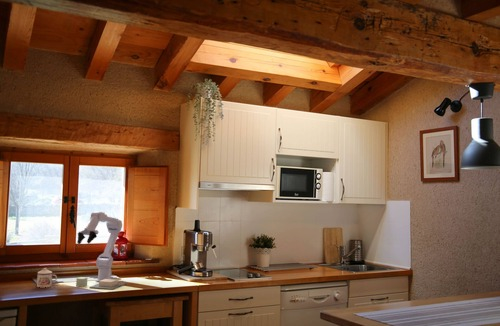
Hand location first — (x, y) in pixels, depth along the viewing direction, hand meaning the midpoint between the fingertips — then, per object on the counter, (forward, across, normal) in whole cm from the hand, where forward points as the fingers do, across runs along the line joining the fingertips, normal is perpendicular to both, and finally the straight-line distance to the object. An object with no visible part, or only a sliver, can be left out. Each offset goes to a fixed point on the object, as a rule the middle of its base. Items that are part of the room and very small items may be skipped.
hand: (83, 243), depth 319 cm
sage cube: (+16, -9, +24) cm, 30 cm away
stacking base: (+13, +7, +30) cm, 34 cm away
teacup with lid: (+23, -26, +13) cm, 37 cm away
